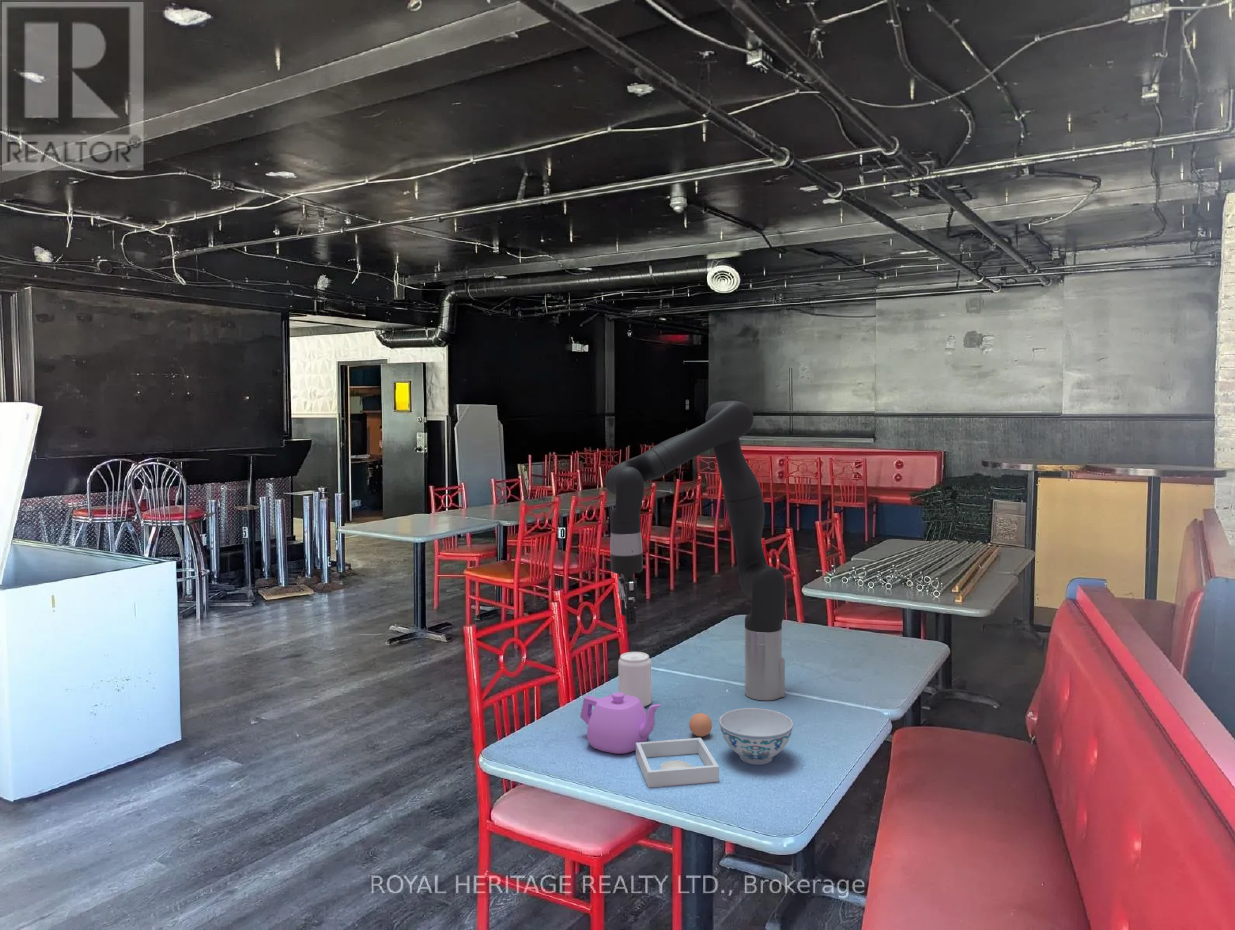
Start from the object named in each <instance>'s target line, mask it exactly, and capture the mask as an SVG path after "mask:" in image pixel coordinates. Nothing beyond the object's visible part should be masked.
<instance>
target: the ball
mask: <svg viewBox="0 0 1235 930" xmlns="http://www.w3.org/2000/svg"><path fill="white" fill-rule="evenodd" d="M688 724H689V729H690V732H691V733H692V734H693V735H695V736H697V737H698V738H702V737H705V736H708V735H709V734H710V732H711V730H712V727H713V724H712V720H711V718H710V717H709V715H707V714H705V713H703V712H697V713H695V714H693V715H692V716H691V717H690V720H689V722H688Z"/></svg>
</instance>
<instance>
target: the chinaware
mask: <svg viewBox="0 0 1235 930" xmlns="http://www.w3.org/2000/svg"><path fill="white" fill-rule="evenodd" d="M718 722H719V727H720V731H721V734H722V736H723V739H724V740H725V742H726V744H727V745H728V746H729V748H730V749H731V750H732V751H734V752H735V753H736V754H737V755H739V758H740V760H741V761H743V762H744V763H746V764H749V765H765V764H768V763H769V764H770V762H772V761H773V757H775V756H777V755H778V754H780V752H782V751H783V750H784V748H785V747H786V745H787V744H788V742H789V740H790V738H791V736H792V732H793V728H794V722H793V720H792V719H791V718H790V717H789V716H787V715H786V714H784V713H782V712H779V711H776V710H773V709H766V708H758V707H745V708H743V707H742V708H738V709H733V710H729V711H727V712H725V713H723V714H722V715H721V716H720V718H719V720H718Z"/></svg>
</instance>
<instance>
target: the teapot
mask: <svg viewBox="0 0 1235 930" xmlns="http://www.w3.org/2000/svg"><path fill="white" fill-rule="evenodd" d="M593 706H594V707H593ZM661 706H662V704H660V703H658V704H652V705H650V706H649V707H648V710H646V709H645V707H644V706H643V704H642V703H641V701H640V699H638V698H637V697H633V696H629V695H625V694H624V693H621V692H619V691H618V692H617V691H616V692H612V694H609V695H605V696H603V697H602V698H599V697H595V696H592V695H588V694H587V695H586V696H585V697H584V698H583V701H582V706H581V712H580V719H581V720H583V721H584V722H585V724H586V725H587V728H586V739H587V741H588V742H589V744H590V746H591V747H592V748H593V749H596V750H599V751H601V752H604V753H605V752H606V753H609V754H610V753H611V754H617V755H618V754H619V755H622V754H629V753H631V752H634V751H636V743H639V742H647V739H648V738H649V736H650V735H651V733H652V732H653V731H654V728H655V721H656V720H655V715H656V711H657V709H658V708H660V707H661Z"/></svg>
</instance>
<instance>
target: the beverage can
mask: <svg viewBox="0 0 1235 930" xmlns="http://www.w3.org/2000/svg"><path fill="white" fill-rule="evenodd" d="M617 662H618V663H617V665H618V667H617V668H618V670H617V672H618V692H621V693H624V694H625V695H629V696H633V697H637V698H638V699H640V701H641V703H642V704H643V706H644V708H645V707H647V706H648V705H650V704H652V694H653V693H652V660H651V658H650V655H649V654H647V652H646V653H645V652H641V651H628V652H624V653H621V654H620V656H619V659H618V661H617Z"/></svg>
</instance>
